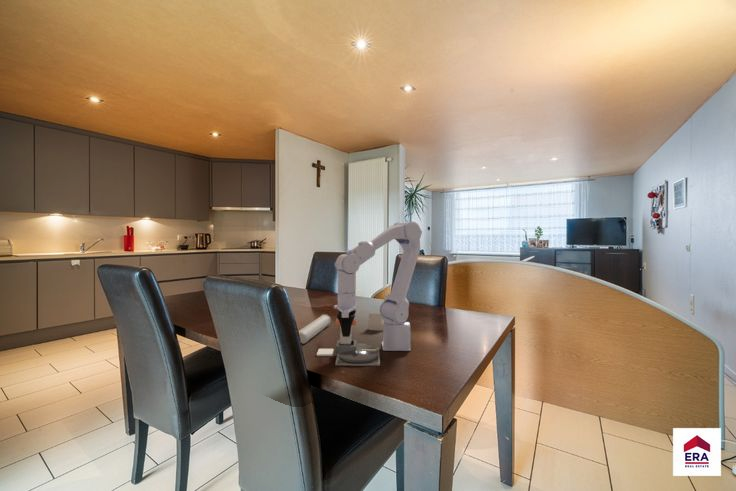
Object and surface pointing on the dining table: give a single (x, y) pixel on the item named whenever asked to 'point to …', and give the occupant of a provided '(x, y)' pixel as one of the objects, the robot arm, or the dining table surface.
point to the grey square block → (375, 321)
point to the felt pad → (325, 352)
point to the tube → (314, 328)
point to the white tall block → (345, 339)
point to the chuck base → (371, 363)
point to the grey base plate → (357, 352)
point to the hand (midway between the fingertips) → (346, 334)
